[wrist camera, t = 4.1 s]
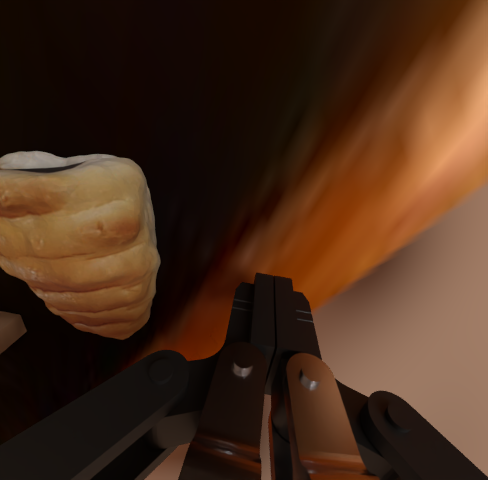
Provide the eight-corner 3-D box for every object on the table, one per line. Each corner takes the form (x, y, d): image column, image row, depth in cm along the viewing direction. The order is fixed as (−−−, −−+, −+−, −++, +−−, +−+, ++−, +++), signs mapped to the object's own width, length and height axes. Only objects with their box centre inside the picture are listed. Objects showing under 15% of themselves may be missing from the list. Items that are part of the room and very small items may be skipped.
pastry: (184, 316, 14) (155, 380, 10) (79, 310, 14) (20, 368, 11) (150, 146, 10) (84, 159, 6) (5, 150, 10) (-126, 163, 7)
